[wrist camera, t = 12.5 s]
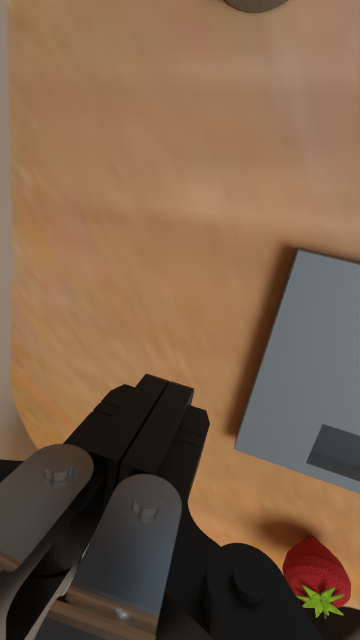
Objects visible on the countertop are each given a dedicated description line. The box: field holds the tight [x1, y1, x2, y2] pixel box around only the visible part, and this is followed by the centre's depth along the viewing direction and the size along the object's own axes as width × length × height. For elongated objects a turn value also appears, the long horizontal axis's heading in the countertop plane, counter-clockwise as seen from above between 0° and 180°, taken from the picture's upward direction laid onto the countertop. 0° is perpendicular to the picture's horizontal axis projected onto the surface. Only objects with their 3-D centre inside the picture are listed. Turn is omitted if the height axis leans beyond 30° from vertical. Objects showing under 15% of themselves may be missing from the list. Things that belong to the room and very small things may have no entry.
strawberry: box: [282, 537, 351, 619], centre depth 40 cm, size 6×8×10 cm
